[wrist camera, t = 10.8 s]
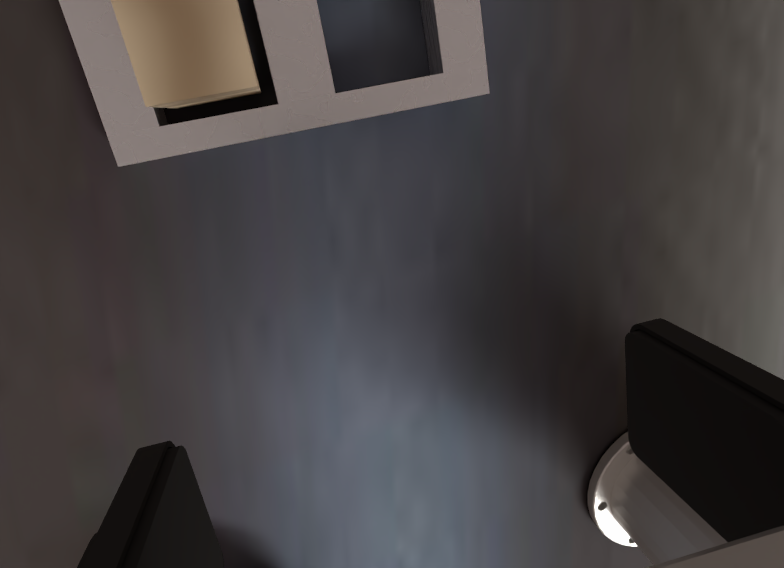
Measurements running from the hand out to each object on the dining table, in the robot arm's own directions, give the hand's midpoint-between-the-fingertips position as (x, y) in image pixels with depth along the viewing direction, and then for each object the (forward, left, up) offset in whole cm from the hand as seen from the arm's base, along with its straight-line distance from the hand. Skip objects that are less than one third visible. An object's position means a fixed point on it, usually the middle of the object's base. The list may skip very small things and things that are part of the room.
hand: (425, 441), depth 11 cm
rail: (-1, -10, -23) cm, 25 cm away
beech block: (+4, -10, -23) cm, 25 cm away
